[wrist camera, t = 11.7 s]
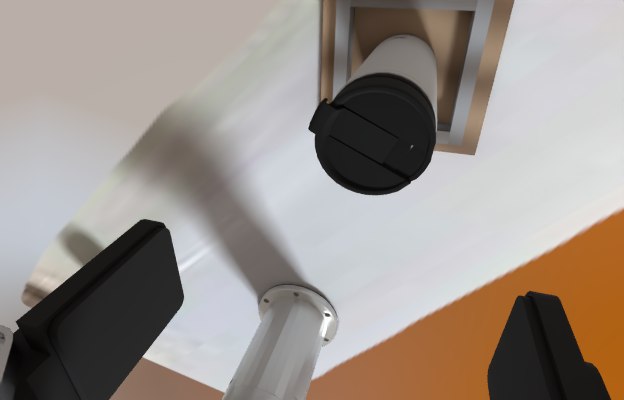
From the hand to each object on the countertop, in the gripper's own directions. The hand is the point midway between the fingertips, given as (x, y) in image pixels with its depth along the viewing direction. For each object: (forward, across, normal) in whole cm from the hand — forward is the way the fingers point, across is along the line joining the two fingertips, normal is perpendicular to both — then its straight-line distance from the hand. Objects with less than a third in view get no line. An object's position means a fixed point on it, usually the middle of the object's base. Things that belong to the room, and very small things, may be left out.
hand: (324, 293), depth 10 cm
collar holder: (+32, 0, 0) cm, 32 cm away
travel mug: (+31, 0, 0) cm, 31 cm away
